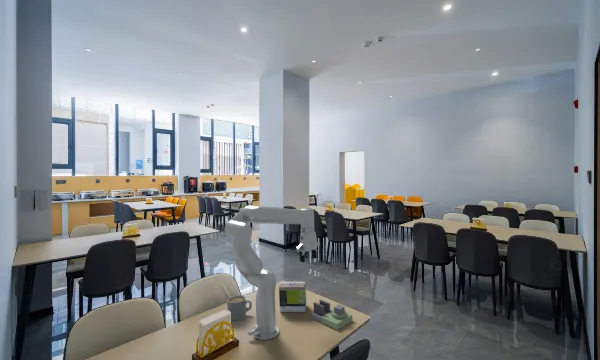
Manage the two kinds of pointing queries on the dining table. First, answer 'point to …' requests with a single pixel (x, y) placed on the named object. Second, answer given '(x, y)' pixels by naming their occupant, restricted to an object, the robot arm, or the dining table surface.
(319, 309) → the chute
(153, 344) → the dining table surface
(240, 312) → the coffee mug
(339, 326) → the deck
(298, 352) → the dining table surface
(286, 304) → the tea box
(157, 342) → the dining table surface
